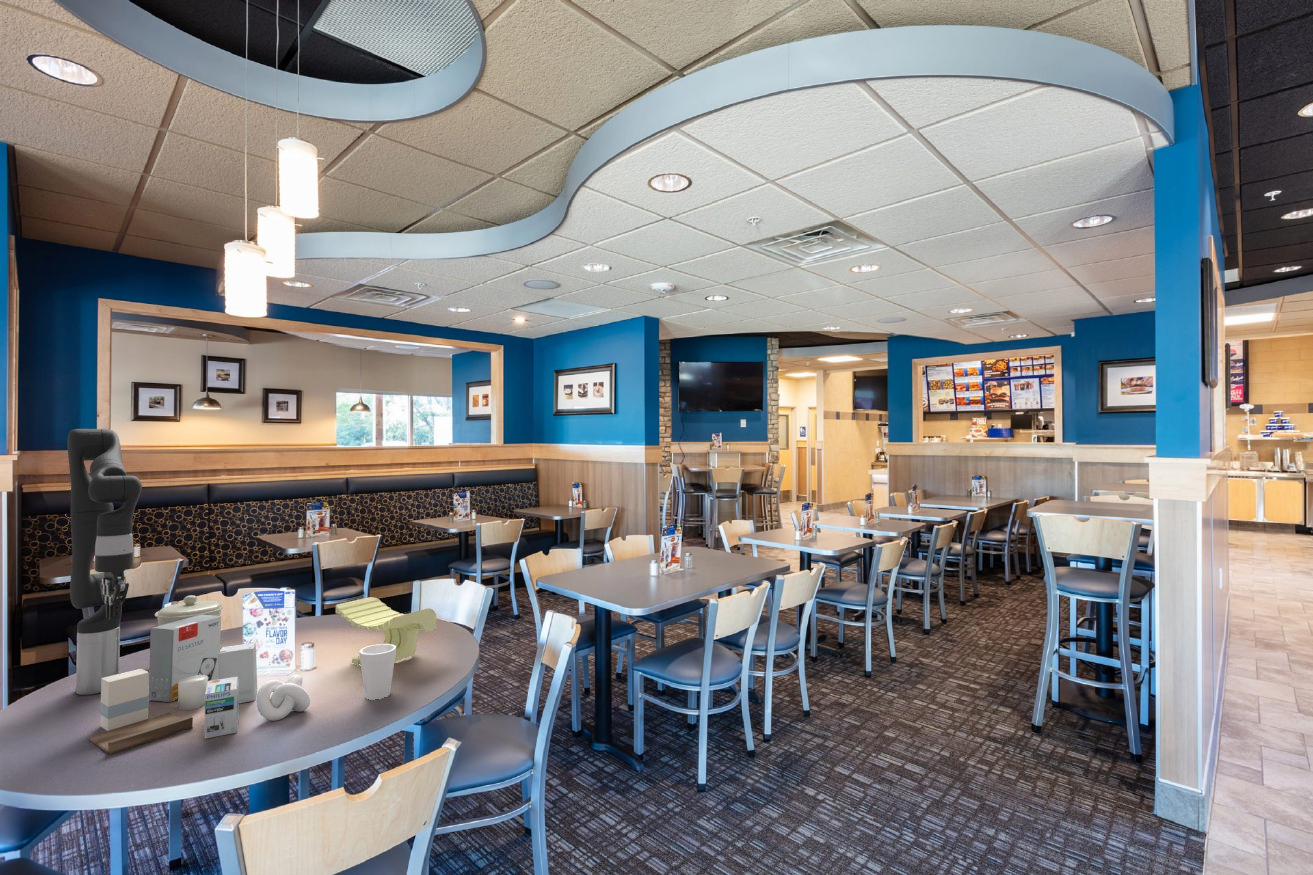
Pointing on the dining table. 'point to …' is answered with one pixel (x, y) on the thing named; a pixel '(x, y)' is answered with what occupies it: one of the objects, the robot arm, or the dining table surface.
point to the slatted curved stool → (388, 623)
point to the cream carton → (124, 699)
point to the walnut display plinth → (140, 732)
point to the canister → (188, 610)
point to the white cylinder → (192, 692)
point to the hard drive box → (183, 654)
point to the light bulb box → (221, 707)
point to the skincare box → (240, 668)
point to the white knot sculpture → (282, 698)
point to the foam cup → (377, 669)
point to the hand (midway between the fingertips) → (113, 617)
